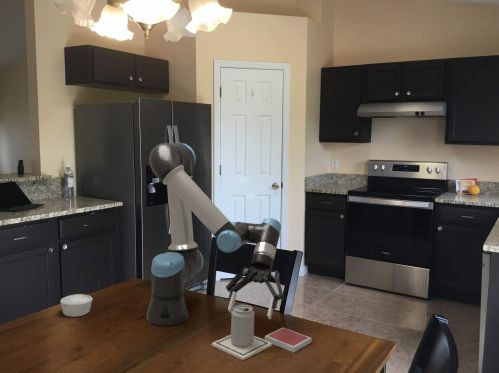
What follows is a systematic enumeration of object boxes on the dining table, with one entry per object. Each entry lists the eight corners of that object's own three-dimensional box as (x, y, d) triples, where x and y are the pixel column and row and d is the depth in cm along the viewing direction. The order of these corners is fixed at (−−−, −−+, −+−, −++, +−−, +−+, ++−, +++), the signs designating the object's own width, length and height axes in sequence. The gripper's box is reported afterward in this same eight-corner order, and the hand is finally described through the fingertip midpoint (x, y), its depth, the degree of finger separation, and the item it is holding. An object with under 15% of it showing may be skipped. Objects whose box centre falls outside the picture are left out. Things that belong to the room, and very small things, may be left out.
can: (251, 349, 146) (252, 313, 145) (228, 346, 148) (229, 310, 146) (255, 339, 153) (256, 304, 152) (233, 336, 155) (234, 302, 154)
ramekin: (98, 311, 176) (98, 297, 175) (73, 320, 166) (73, 306, 166) (79, 304, 182) (79, 292, 181) (54, 313, 172) (54, 300, 172)
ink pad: (264, 340, 154) (264, 335, 154) (282, 331, 162) (283, 326, 162) (293, 352, 147) (293, 346, 146) (311, 342, 154) (311, 337, 154)
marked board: (211, 345, 150) (211, 342, 150) (240, 332, 160) (240, 330, 160) (243, 360, 141) (243, 357, 141) (272, 345, 151) (272, 342, 151)
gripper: (298, 267, 163) (287, 324, 151) (232, 259, 171) (216, 312, 159) (296, 256, 158) (284, 315, 145) (228, 248, 165) (211, 303, 153)
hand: (249, 314), depth 152 cm, fingers open, 13 cm apart
